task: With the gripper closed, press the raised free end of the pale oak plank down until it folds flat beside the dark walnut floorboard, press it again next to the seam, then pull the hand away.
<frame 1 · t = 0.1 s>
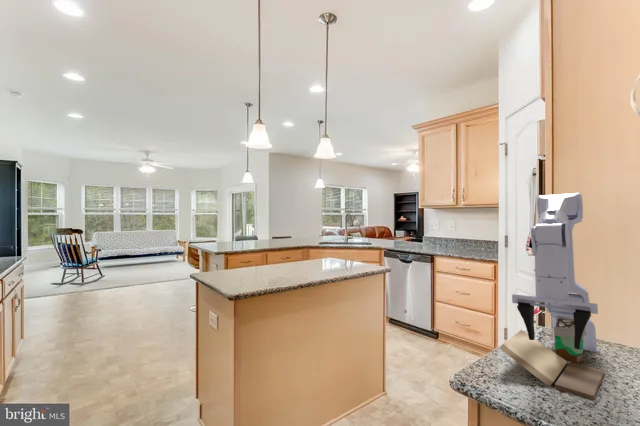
hand: (553, 343, 65), 11 cm above the counter, tool pointing down, fingers open, 7 cm apart
food container: (572, 363, 79), on the counter
oak plank: (533, 355, 74), point 4 cm above the counter, hinge at 30.0°
walnut board: (580, 385, 68), on the counter
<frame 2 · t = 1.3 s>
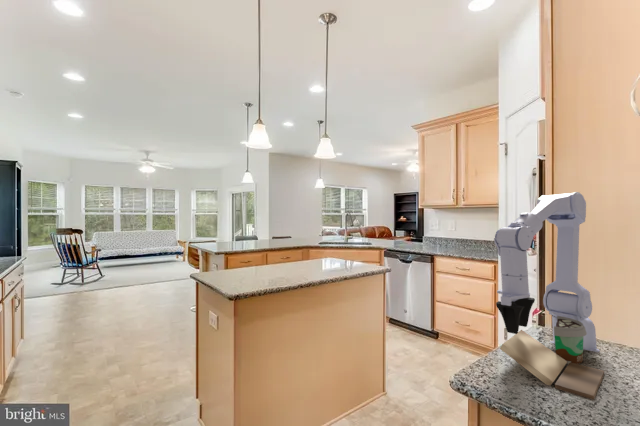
hand: (517, 329, 77), 9 cm above the counter, tool pointing down, fingers open, 7 cm apart
nothing on the counter moved.
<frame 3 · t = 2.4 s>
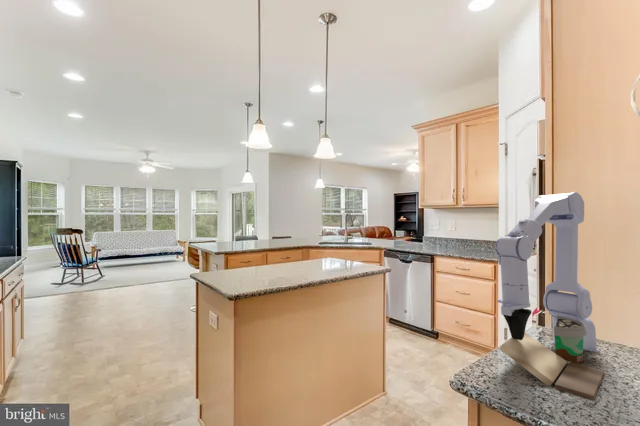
hand: (517, 338, 77), 7 cm above the counter, tool pointing down, fingers closed, pressing on oak plank
oak plank: (533, 355, 74), point 4 cm above the counter, hinge at 29.2°, touching gripper
everything else where it was.
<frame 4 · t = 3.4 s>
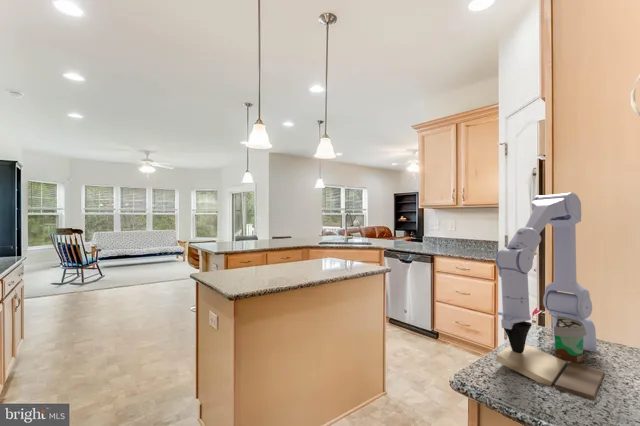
hand: (517, 351, 77), 4 cm above the counter, tool pointing down, fingers closed, pressing on oak plank
oak plank: (531, 361, 75), point 2 cm above the counter, hinge at 13.3°, touching gripper
everything else where it was.
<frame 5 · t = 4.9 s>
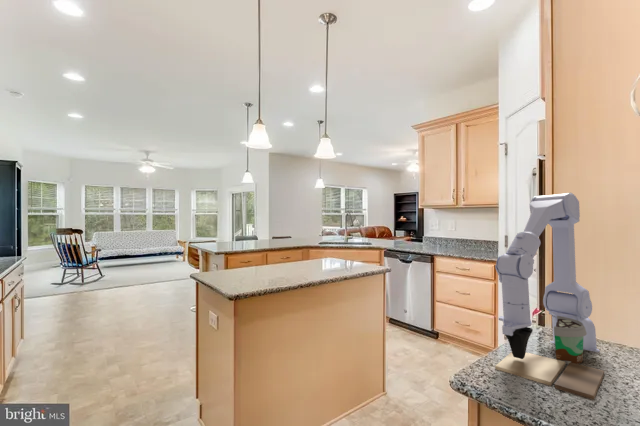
hand: (518, 357, 77), 2 cm above the counter, tool pointing down, fingers closed
oak plank: (530, 367, 75), point 1 cm above the counter, hinge at -0.4°
everything else where it was.
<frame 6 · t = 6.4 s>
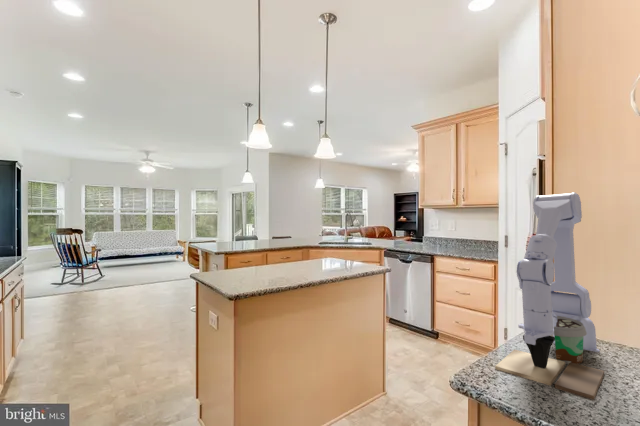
hand: (540, 367, 73), 2 cm above the counter, tool pointing down, fingers closed, pressing on oak plank
oak plank: (530, 367, 75), point 1 cm above the counter, hinge at -0.4°, touching gripper
everything else where it was.
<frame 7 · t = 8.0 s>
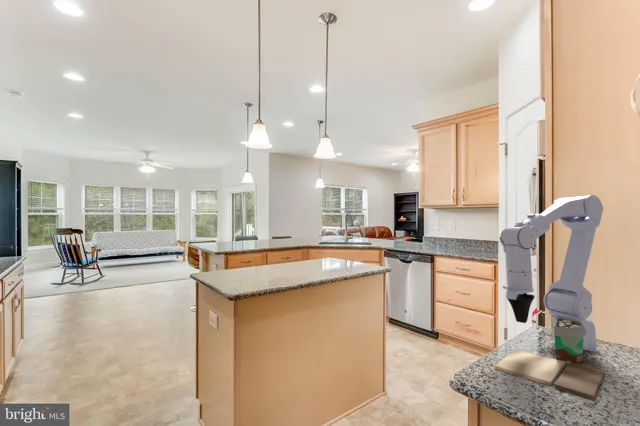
hand: (521, 321, 83), 9 cm above the counter, tool pointing down, fingers closed
oak plank: (530, 367, 75), point 1 cm above the counter, hinge at -0.4°
everything else where it was.
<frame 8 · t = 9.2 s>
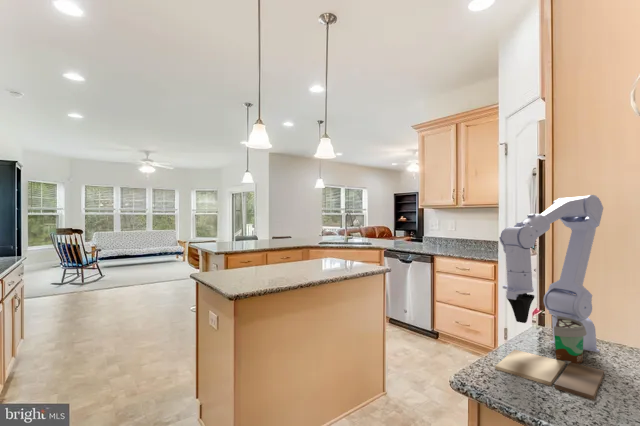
hand: (521, 321, 83), 9 cm above the counter, tool pointing down, fingers closed
nothing on the counter moved.
at the end: oak plank at +0° (first picture: +30°); food container moved 0.2 cm from its start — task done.
